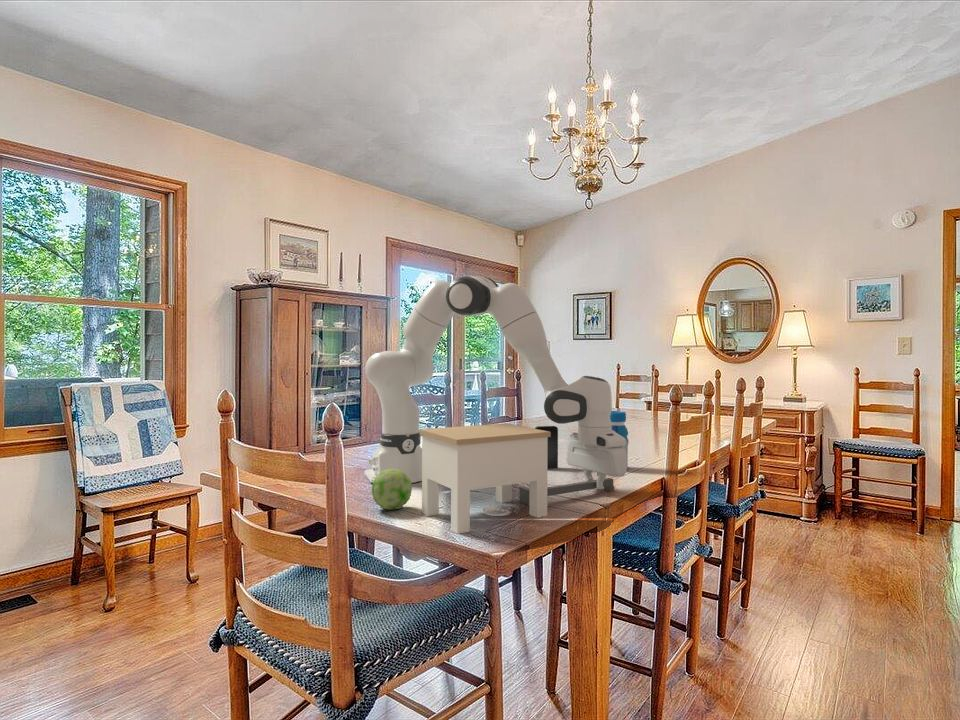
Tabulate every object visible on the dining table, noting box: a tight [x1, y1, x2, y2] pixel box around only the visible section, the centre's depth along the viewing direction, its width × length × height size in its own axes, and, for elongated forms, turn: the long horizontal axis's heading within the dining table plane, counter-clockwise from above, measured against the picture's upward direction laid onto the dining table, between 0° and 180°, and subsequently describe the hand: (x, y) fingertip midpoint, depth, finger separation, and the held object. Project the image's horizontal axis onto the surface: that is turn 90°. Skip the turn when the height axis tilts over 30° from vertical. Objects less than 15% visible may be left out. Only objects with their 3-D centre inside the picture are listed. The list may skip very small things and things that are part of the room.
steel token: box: [482, 505, 513, 517], centre depth 134 cm, size 7×7×1 cm
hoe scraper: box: [519, 477, 615, 506], centre depth 146 cm, size 28×9×4 cm, turn 121°
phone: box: [534, 425, 559, 470], centre depth 182 cm, size 8×1×15 cm, turn 103°
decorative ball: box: [371, 469, 413, 511], centre depth 137 cm, size 10×10×10 cm
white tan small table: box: [419, 422, 551, 535], centre depth 132 cm, size 19×25×20 cm
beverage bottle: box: [610, 410, 629, 471], centre depth 180 cm, size 8×8×20 cm
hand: (594, 487), depth 150 cm, fingers closed on hoe scraper, 2 cm apart
